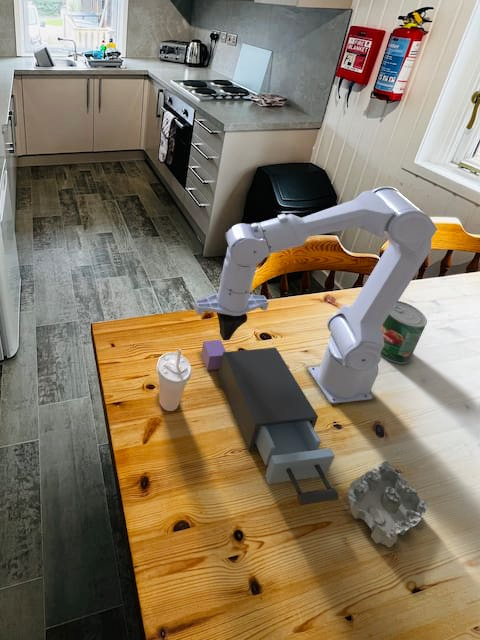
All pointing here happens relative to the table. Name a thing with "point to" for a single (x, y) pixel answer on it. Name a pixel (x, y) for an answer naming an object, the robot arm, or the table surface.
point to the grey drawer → (296, 458)
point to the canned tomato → (402, 332)
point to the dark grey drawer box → (262, 391)
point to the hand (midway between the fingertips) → (224, 336)
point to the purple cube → (212, 354)
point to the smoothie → (172, 379)
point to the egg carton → (385, 503)
